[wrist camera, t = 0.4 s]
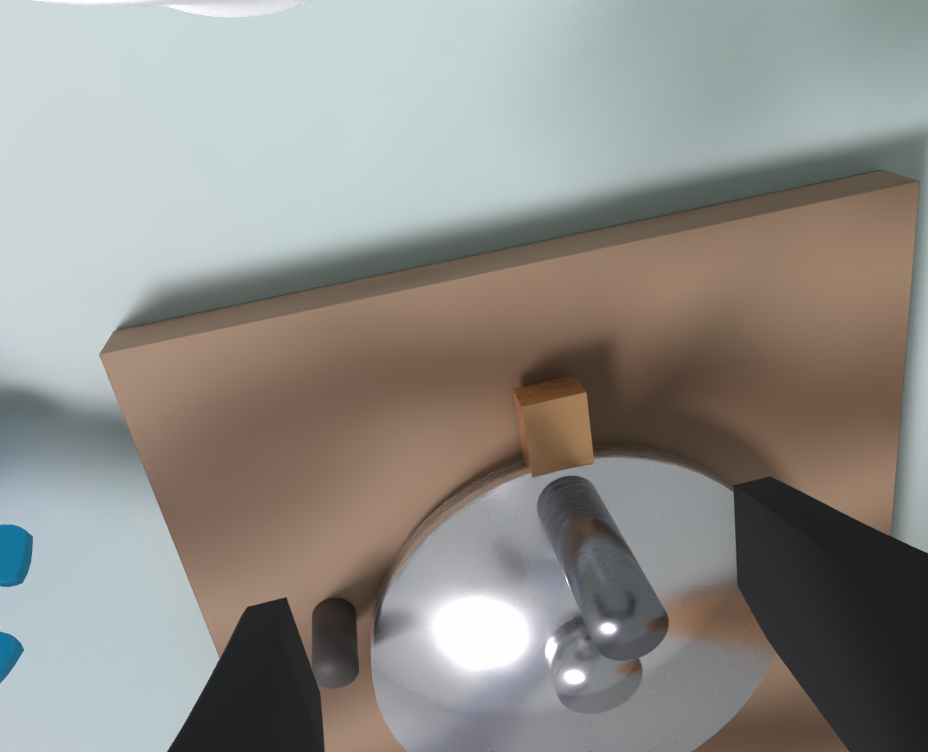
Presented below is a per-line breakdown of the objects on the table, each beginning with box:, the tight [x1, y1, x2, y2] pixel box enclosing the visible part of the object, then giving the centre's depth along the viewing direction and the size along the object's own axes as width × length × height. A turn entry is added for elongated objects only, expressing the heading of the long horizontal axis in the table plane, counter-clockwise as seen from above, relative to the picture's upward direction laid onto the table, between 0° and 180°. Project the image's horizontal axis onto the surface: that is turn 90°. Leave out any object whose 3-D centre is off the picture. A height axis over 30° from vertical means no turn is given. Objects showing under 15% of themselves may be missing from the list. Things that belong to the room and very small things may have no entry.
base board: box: [99, 170, 919, 752], centre depth 24 cm, size 22×20×4 cm
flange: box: [370, 375, 776, 752], centre depth 21 cm, size 14×12×6 cm
